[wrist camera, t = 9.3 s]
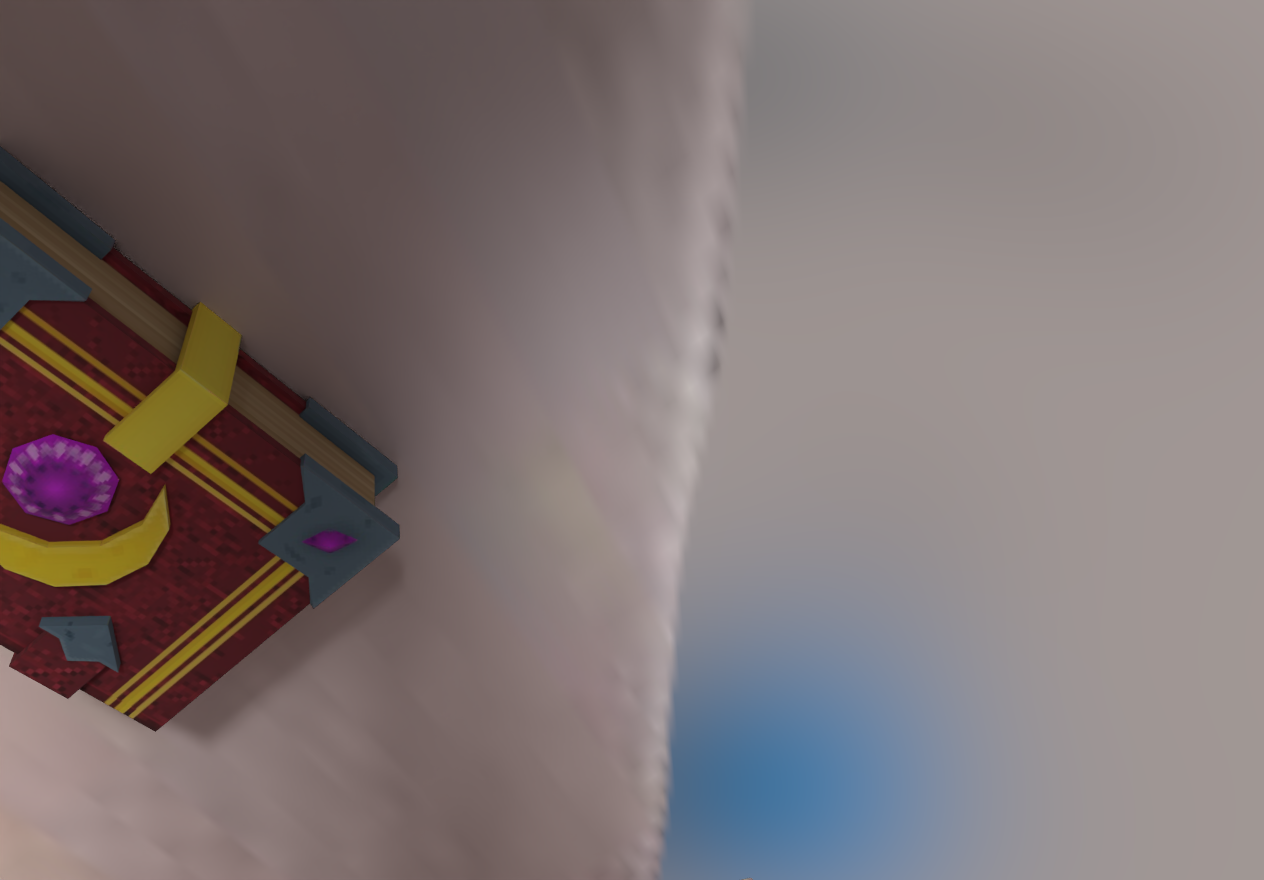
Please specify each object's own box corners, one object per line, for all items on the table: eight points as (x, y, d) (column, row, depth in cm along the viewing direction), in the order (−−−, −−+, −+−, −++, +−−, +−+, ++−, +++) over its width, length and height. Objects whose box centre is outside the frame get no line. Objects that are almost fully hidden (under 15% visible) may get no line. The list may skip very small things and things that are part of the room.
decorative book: (172, 650, 42) (150, 754, 37) (-288, 370, 33) (-383, 463, 29) (399, 458, 39) (402, 546, 35) (-37, 105, 31) (-99, 165, 27)
